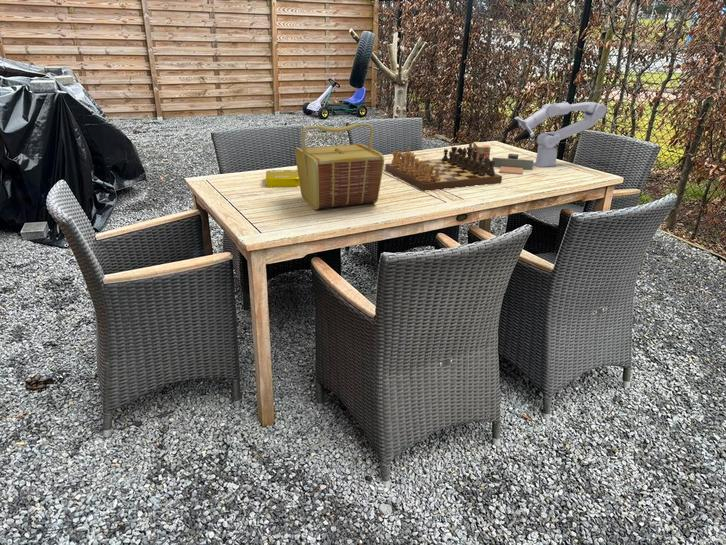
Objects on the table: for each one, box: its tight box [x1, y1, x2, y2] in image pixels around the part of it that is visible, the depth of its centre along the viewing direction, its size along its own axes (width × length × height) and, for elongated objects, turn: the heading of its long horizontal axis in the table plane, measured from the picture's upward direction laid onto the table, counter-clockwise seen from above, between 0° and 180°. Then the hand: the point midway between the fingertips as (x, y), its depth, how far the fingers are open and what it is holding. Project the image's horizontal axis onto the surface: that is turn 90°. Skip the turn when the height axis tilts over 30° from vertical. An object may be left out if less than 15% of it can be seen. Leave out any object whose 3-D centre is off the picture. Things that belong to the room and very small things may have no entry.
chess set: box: [384, 142, 503, 192], centre depth 241 cm, size 40×40×15 cm
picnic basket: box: [294, 122, 385, 211], centre depth 198 cm, size 29×26×30 cm
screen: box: [491, 156, 534, 171], centre depth 260 cm, size 20×2×4 cm, turn 73°
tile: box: [499, 166, 524, 176], centre depth 255 cm, size 11×11×1 cm
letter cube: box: [507, 153, 519, 159], centre depth 267 cm, size 5×5×5 cm
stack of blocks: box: [471, 141, 492, 164], centre depth 261 cm, size 21×6×12 cm, turn 179°
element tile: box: [265, 169, 300, 188], centre depth 229 cm, size 15×15×5 cm
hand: (510, 136), depth 259 cm, fingers open, 7 cm apart
